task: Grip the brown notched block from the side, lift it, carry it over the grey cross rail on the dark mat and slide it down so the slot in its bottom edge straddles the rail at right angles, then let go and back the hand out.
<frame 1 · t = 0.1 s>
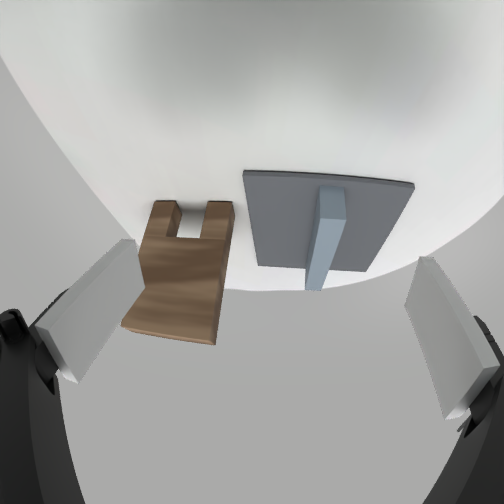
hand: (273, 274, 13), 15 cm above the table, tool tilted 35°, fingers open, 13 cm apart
brown notched block: (194, 208, 36), on the table
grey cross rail: (321, 231, 38), on the table
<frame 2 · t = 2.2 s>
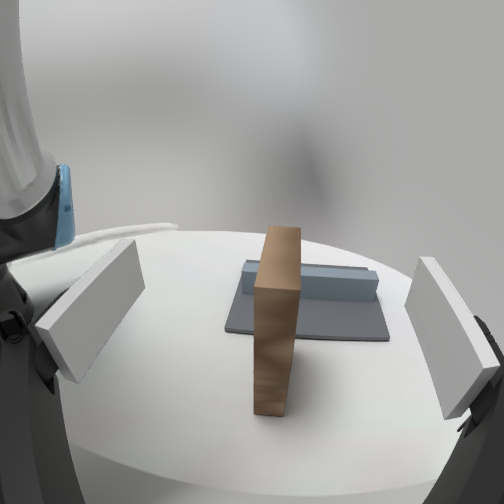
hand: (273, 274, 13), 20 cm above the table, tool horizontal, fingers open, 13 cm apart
brown notched block: (273, 378, 31), on the table
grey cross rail: (308, 296, 44), on the table
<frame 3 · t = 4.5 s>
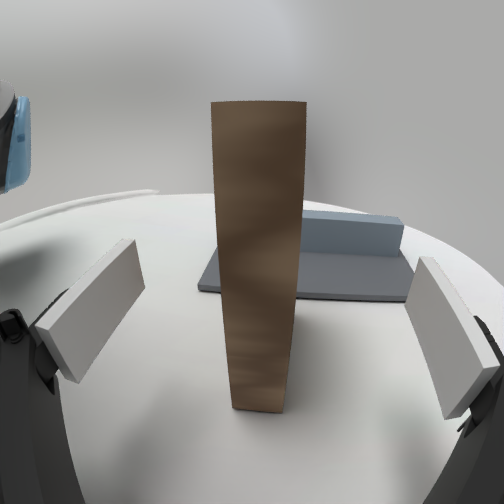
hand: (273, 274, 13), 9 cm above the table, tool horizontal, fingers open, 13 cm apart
brown notched block: (265, 352, 20), on the table
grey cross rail: (313, 251, 34), on the table
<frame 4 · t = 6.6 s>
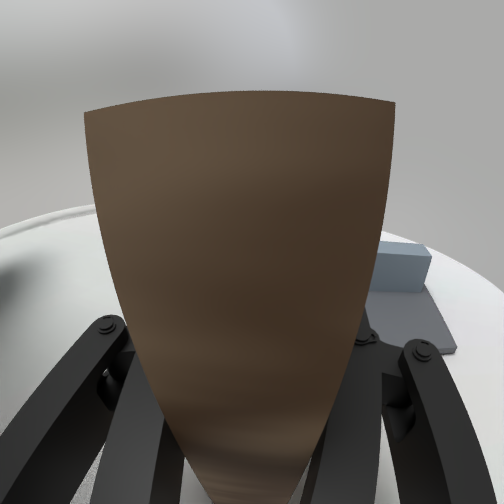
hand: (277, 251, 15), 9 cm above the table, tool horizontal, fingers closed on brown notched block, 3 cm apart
brown notched block: (261, 437, 14), on the table, touching gripper
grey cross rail: (322, 286, 28), on the table
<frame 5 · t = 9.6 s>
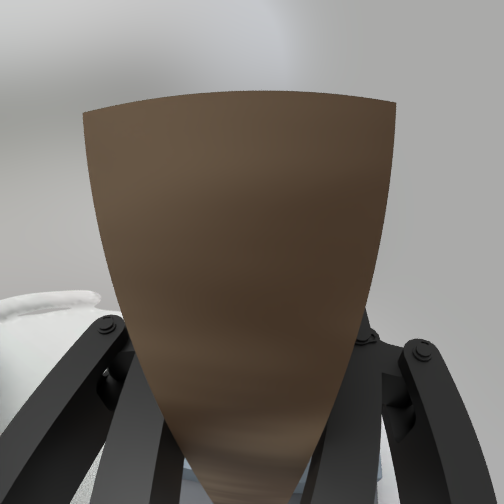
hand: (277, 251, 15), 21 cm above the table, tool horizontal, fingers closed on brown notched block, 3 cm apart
brown notched block: (261, 438, 14), point 12 cm above the table, touching gripper
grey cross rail: (258, 481, 20), on the table
when the fingers open (11 cm above the table, at t = 12.7 s): brown notched block stays where it is, resting on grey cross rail.
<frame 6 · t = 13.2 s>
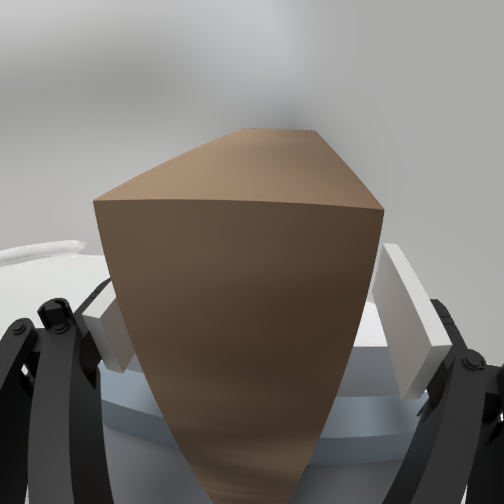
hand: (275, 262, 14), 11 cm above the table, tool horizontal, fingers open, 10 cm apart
brown notched block: (261, 444, 15), point 1 cm above the table, touching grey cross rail
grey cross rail: (261, 447, 15), on the table
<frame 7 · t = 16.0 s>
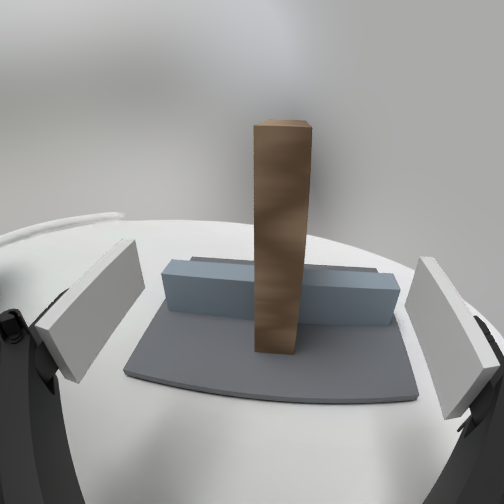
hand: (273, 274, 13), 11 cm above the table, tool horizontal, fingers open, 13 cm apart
brown notched block: (278, 312, 26), point 1 cm above the table, touching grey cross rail
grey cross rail: (278, 317, 26), on the table
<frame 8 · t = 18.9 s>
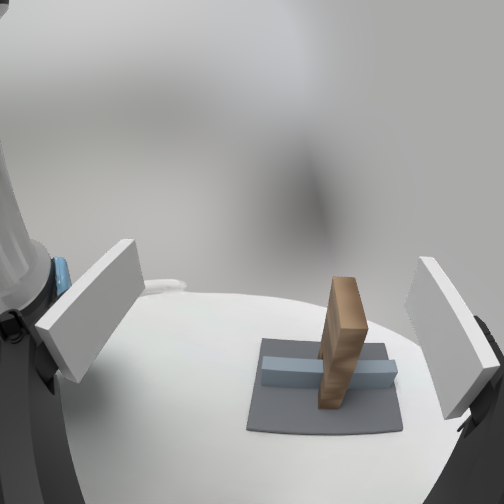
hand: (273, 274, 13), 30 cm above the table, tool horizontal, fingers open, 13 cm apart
brown notched block: (327, 382, 40), point 1 cm above the table, touching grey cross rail
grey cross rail: (326, 384, 40), on the table
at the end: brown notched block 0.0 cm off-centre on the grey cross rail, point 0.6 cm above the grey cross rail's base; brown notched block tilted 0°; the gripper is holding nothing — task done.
